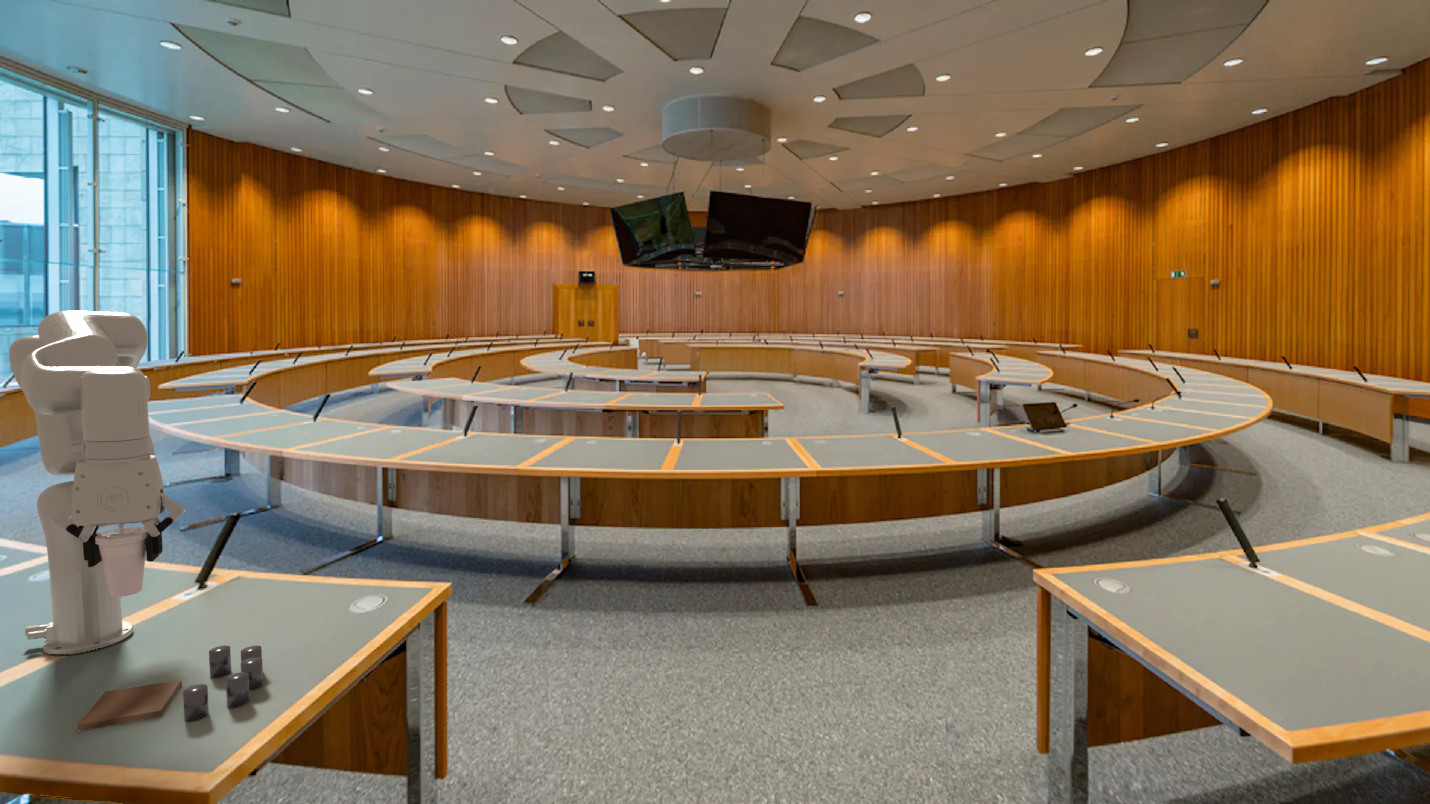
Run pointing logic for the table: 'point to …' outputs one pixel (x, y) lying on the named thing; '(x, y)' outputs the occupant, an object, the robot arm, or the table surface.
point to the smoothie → (123, 559)
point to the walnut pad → (130, 705)
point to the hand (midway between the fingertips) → (124, 560)
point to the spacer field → (235, 683)
